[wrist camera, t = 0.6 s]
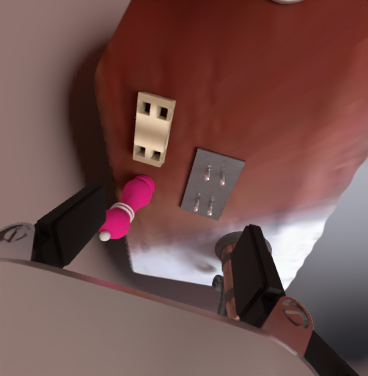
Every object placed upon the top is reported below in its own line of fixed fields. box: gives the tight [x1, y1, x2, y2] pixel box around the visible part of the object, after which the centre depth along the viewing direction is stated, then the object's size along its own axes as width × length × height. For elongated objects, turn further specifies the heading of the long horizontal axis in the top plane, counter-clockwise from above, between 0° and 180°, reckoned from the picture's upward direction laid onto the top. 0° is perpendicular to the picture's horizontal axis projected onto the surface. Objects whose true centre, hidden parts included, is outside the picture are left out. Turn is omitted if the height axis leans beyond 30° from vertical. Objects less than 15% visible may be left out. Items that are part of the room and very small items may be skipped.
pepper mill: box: [99, 175, 155, 241], centre depth 38 cm, size 7×7×20 cm
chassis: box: [180, 147, 245, 220], centre depth 41 cm, size 18×11×6 cm, turn 166°
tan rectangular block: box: [133, 92, 175, 167], centre depth 37 cm, size 14×7×4 cm, turn 166°
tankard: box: [212, 231, 272, 321], centre depth 46 cm, size 24×17×20 cm
